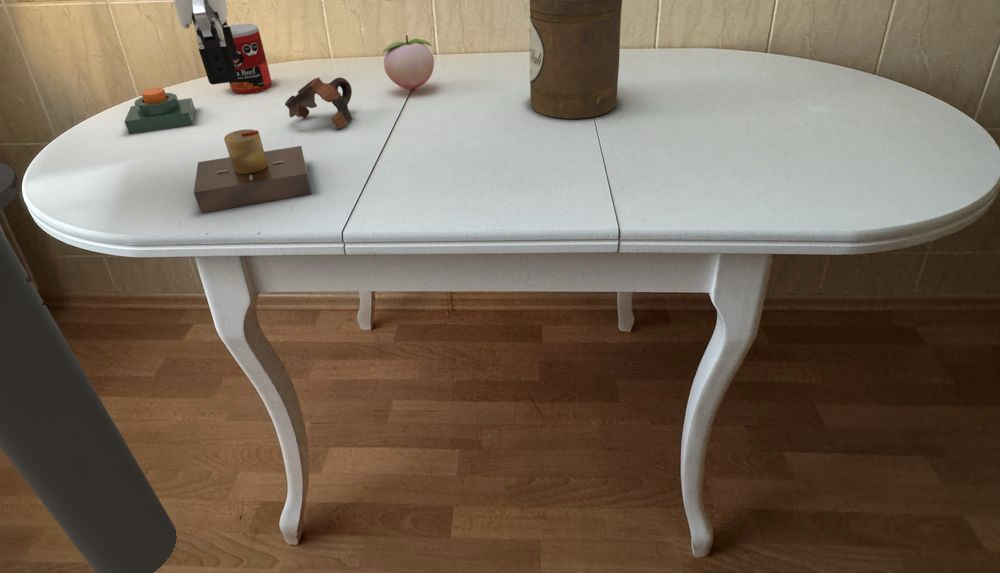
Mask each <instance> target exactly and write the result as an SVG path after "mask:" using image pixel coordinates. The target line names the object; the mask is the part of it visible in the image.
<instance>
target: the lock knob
mask: <svg viewBox="0 0 1000 573" xmlns="http://www.w3.org/2000/svg"><path fill="white" fill-rule="evenodd" d="M223 141H224V144H225V147H226V150H227V153H228V157H230V160H231V163H232V166H233V170H234V171H235V172H236V173H239V174H251V173H256V172H259V171H261V170H263V169H265V168H266V167H267V165H268V164H267V160H266V156H265V153H264V152H265V150H264V146H263V142H262V139H261V135H260V132H259V130H258V129H250V128H249V129H238V130H234V131H232V132H230V133H227V134H226V135H225V136H224V138H223Z"/></svg>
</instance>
